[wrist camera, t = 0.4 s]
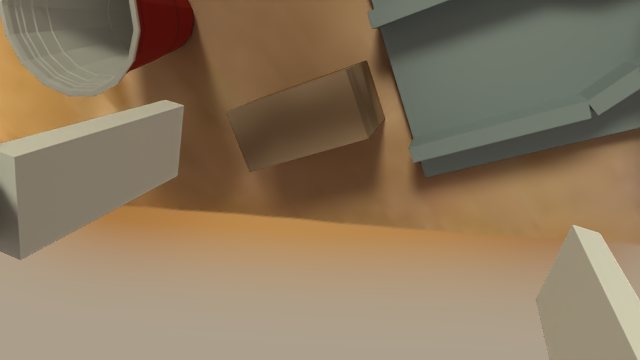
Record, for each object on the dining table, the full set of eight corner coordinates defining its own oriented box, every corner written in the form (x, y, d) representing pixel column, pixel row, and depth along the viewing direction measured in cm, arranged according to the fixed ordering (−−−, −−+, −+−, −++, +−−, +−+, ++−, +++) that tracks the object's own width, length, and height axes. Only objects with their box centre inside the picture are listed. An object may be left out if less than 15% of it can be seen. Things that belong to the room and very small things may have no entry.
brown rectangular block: (263, 96, 41) (225, 112, 35) (366, 60, 37) (345, 69, 31) (282, 148, 42) (249, 172, 36) (385, 118, 38) (368, 138, 32)
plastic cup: (236, 63, 41) (152, 82, 30) (141, 87, 44) (35, 110, 34) (201, -68, 38) (92, -101, 27) (102, -31, 41) (-28, -47, 31)
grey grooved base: (369, -18, 35) (330, -30, 26) (764, -185, 26) (934, -300, 16) (426, 173, 39) (412, 225, 29) (791, 86, 29) (944, 120, 20)
